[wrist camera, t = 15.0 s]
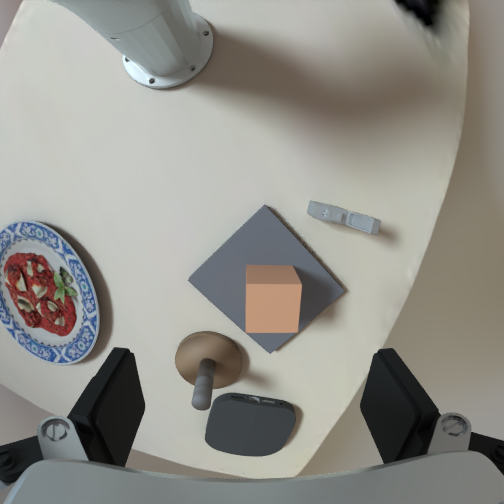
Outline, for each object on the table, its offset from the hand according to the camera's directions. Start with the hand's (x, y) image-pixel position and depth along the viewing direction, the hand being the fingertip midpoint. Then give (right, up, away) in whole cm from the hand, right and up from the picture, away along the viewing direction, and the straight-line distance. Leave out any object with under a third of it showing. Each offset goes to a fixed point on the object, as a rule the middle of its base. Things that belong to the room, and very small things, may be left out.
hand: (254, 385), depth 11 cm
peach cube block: (+2, 0, +30) cm, 30 cm away
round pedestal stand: (-7, -11, +34) cm, 37 cm away
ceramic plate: (-36, -2, +32) cm, 48 cm away
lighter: (+11, +10, +29) cm, 33 cm away
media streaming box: (-1, -26, +39) cm, 46 cm away
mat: (+2, +1, +31) cm, 31 cm away
